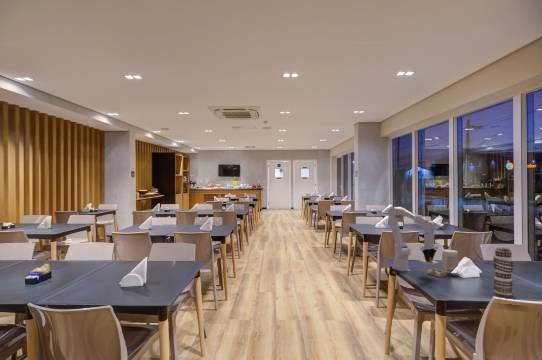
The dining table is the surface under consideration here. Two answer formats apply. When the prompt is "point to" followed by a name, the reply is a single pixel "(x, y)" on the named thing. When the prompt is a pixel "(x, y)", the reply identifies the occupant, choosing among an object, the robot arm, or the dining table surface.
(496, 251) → the decorative candle
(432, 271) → the box
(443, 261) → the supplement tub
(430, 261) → the lid
